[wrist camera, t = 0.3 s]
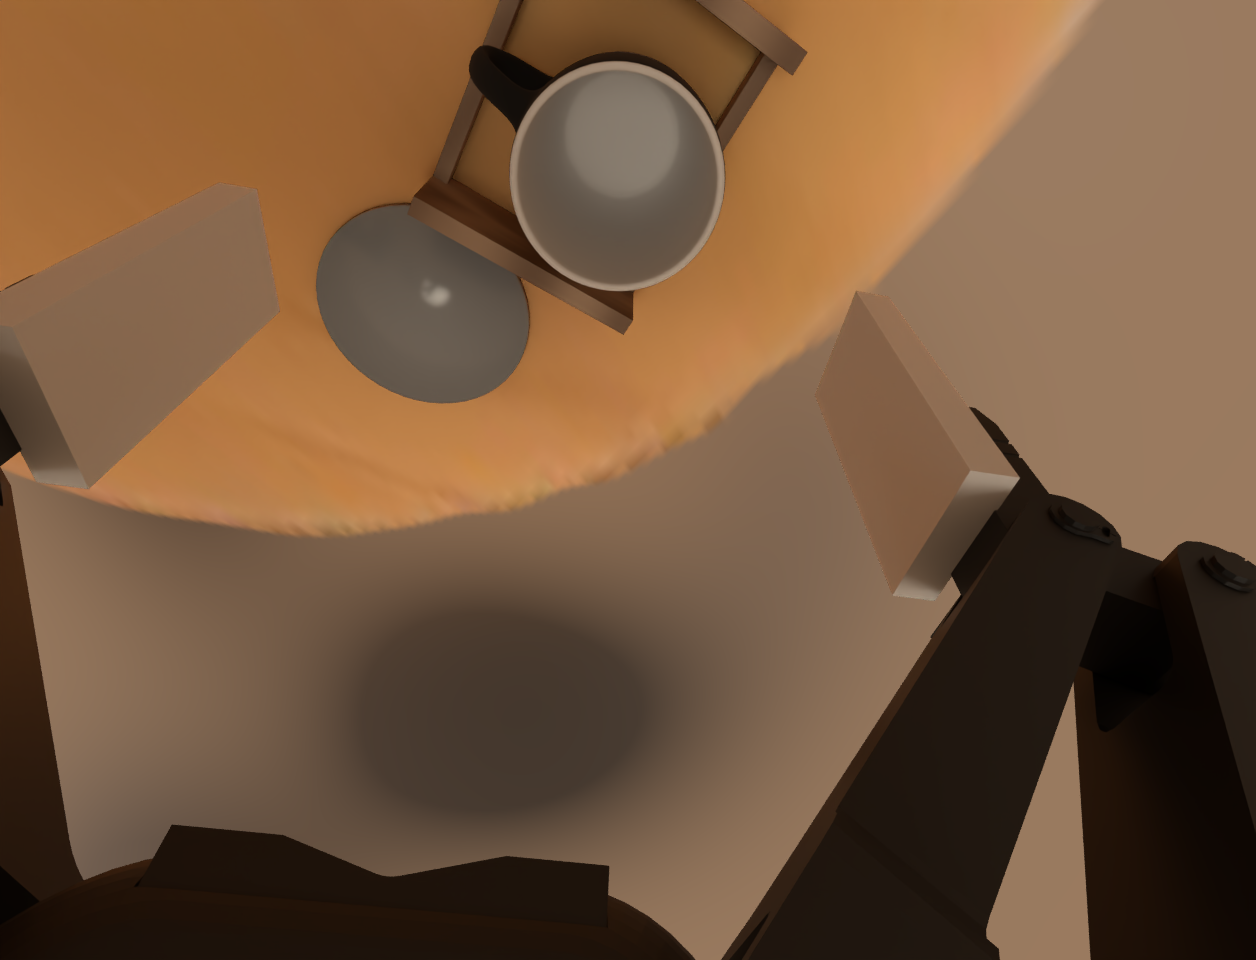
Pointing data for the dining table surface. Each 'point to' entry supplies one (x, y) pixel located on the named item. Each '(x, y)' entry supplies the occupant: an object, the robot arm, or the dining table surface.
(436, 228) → the frame
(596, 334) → the dining table surface
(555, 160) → the mug
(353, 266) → the coaster
